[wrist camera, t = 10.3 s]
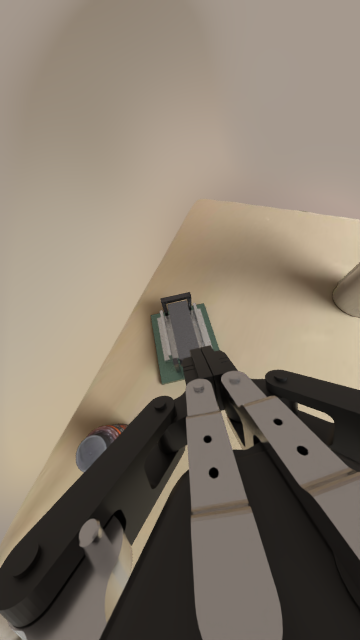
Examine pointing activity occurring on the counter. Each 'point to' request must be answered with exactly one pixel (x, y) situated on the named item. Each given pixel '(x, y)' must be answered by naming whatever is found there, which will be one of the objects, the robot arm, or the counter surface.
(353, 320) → the counter surface
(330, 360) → the counter surface
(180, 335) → the retention strap
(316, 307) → the counter surface
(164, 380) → the heatsink
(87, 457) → the supplement bottle
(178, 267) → the counter surface
